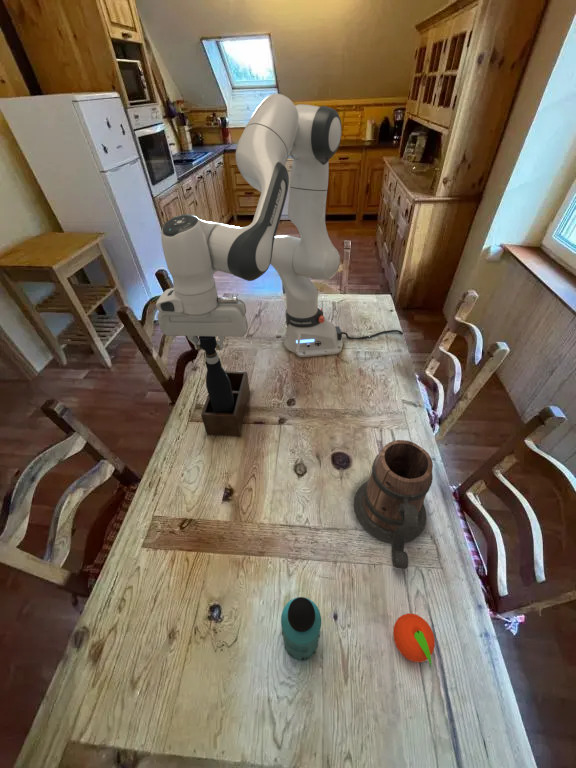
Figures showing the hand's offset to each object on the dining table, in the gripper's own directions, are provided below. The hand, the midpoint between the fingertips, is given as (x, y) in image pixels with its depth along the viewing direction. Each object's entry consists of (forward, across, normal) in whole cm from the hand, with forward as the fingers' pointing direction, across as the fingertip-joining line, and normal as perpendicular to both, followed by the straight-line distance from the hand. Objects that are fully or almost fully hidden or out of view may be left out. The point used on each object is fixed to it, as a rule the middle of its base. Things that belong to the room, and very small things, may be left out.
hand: (209, 348), depth 84 cm
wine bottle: (+26, 0, 0) cm, 26 cm away
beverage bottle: (+28, -25, +52) cm, 64 cm away
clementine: (+28, -45, +51) cm, 74 cm away
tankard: (+28, -44, +28) cm, 60 cm away
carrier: (+28, 0, -4) cm, 28 cm away
